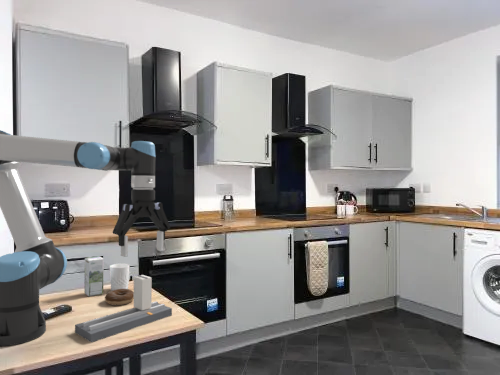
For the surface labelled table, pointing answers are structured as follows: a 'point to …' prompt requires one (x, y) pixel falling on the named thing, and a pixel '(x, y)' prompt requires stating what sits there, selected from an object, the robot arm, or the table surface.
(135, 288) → the fader knob
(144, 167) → the robot arm
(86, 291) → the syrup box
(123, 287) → the white cup
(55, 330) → the table surface
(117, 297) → the donut
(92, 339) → the slider board
